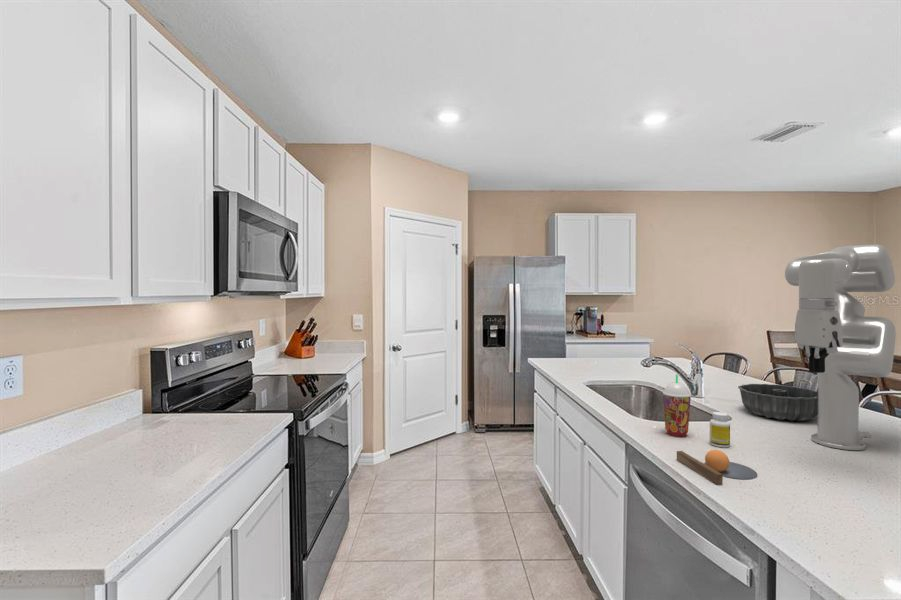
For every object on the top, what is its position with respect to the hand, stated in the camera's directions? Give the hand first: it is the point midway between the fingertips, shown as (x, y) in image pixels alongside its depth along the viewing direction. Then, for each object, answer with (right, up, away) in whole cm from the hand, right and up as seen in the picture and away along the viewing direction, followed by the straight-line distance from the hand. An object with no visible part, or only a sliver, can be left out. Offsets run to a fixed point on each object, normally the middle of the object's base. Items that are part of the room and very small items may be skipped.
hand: (816, 371), depth 117 cm
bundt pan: (+27, -25, +49) cm, 61 cm away
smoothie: (-24, -26, +27) cm, 44 cm away
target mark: (-26, -26, -3) cm, 36 cm away
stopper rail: (-34, -26, -3) cm, 43 cm away
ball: (-29, -23, -3) cm, 37 cm away
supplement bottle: (-16, -26, +16) cm, 35 cm away
